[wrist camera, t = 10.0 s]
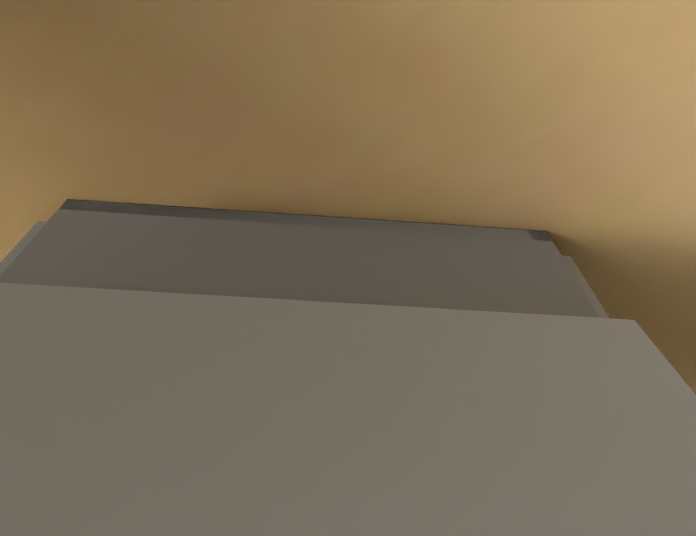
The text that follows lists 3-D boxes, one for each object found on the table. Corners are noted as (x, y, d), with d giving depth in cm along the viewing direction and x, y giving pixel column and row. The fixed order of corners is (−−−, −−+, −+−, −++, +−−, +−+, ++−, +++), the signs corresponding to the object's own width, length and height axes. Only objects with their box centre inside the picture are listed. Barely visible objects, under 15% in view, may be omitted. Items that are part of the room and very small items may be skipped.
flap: (-772, 986, 4) (-850, 958, 4) (-40, 305, 12) (-48, 280, 11) (1098, 974, 5) (1151, 951, 4) (625, 342, 12) (634, 319, 12)
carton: (124, 552, 26) (84, 678, 22) (41, 197, 16) (-61, 303, 12) (457, 563, 27) (479, 686, 23) (569, 232, 17) (643, 343, 13)
